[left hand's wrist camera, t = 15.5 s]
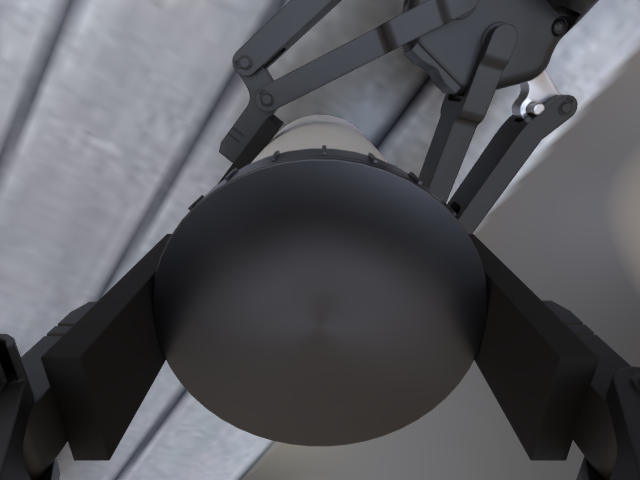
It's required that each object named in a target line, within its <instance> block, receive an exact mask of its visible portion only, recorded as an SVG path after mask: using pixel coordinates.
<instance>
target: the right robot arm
mask: <svg viewBox="0 0 640 480" xmlns="http://www.w3.org/2000/svg"><path fill="white" fill-rule="evenodd" d="M340 1H341V0H290V1H289V2H288V3H287V4H286V5H285V6H284V7H283V8H282V9H281V10H280V11H279V12H278V13H277V14H276V15H275V16H274V17H273V18H271V19H270V20H269V21H268V22H267V23H266V24H265V25H264V26H263V27H262V28H261V29H260V30H259V31H258V32H257V33H256V34H255V35H254V36H253V37H252V38H251V39H249V40H248V41H247V42H246V43H245V44H244V45H243V46H242V47H241V48H240V49H239V50H238V51H237V52H236V53H235V55H234V57H233V67H234V69H235V71H236V72H237V73H238V74H240V76H241V78H242V79H243V81H244V83H245V84H246V86H247V88H248V90H249V93H250V101H249V104H248V106H247V107H246V109H245V110H244V112H243V113H242V114H241V116H240V117H239V119H238V120H237V121H236V123H235V124H234V125H233V127H232V128H231V130H230V131H229V132H228V134H227V135H226V137H225V138H224V139H223V141H222V142H221V146H220V150H219V152H220V153H221V154H222V155H223V156H225V157H226V158H227V159H229V160H230V161H231V162H232V163H233V164H232V166H231V167H230V168H229V170H228V171H227V172H226V174H225V175H224V176H223V178H222V179H221V180H220V182H219V183H221V182H222V181H223V180H224V179H225V177H226V176H227V175H228V174H229V173H230V172H231V171H232V170H233V169H235V168H237V169H238V170H240V169H241V168H243V167H245V166H246V165H249V164H251V163H252V161H253V160H254V159H255V158H256V157H257V156H258V155H259V154H260V152H261V151H262V150H263V149H264V148H265V147H266V146H267V144H268V143H269V142H270V140H271V139H272V138H273V136H274V135H275V134H276V133H277V131H278V130H279V129H280V127H281V126H282V125H283V122H282V121H281V120H280V119H278V118H277V117H276V116H275V115H274V113H275V112H276V110H277V109H278V108H279V107H281V106H283V105H285V104H287V103H289V102H291V101H293V100H295V99H297V98H299V97H301V96H303V95H305V94H307V93H309V92H311V91H313V90H315V89H317V88H319V87H321V86H323V85H325V84H327V83H329V82H331V81H333V80H335V79H337V78H339V77H341V76H343V75H345V74H347V73H349V72H351V71H353V70H355V69H357V68H359V67H361V66H363V65H364V64H366V63H368V62H370V61H372V60H374V59H376V58H378V57H380V56H382V55H384V54H386V53H388V52H390V51H392V50H394V49H396V48H398V47H400V46H403V48H404V50H405V51H404V52H403V53H404V54H405V55H406V56H407V57H408V58H409V59H410V60H411V61H412V62H413V63H414V64H416V65H418V66H420V67H422V68H423V69H425V70H427V72H428V74H429V76H430V77H431V79H432V81H433V83H434V84H435V85H436V86H437V87H438V88H439V89H440V90H441V91H442V92H443V93H446V96H445V99H444V101H443V104H442V107H441V117H440V120H439V123H438V126H437V128H436V131H435V134H434V137H433V139H432V142H431V145H430V148H429V151H428V153H427V156H426V159H425V162H424V164H423V167H422V170H421V173H420V175H419V179H420V180H421V181H422V182H423V183H422V185H423V186H425V187H426V188H427V189H428V190H429V191H431V192H432V193H433V194H434V195H435V196H436V197H437V198H438V199H439V200H440V201H444V202H445V203H446V202H447V199H448V197H449V194H450V192H451V189H452V187H453V184H454V182H455V179H456V177H457V174H458V172H459V169H460V167H461V164H462V162H463V159H464V157H465V154H466V152H467V149H468V147H469V144H470V142H471V139H472V137H473V134H474V132H475V129H476V127H477V125H478V124H479V123H480V122H482V120H483V119H484V117H485V115H486V112H487V110H488V107H489V105H490V102H491V100H492V97H493V95H494V92H495V90H497V89H501V88H505V87H509V86H513V85H516V84H520V86H521V92H520V95H519V97H518V98H517V99H516V101H515V102H514V103H513V105H512V113H513V115H512V116H510V117H509V118H508V119H507V120H506V122H505V123H504V124H503V125H502V126H501V127H500V129H499V130H498V131H497V133H496V134H495V136H494V137H493V139H492V140H491V141H490V143H489V144H488V146H487V147H486V149H485V150H484V152H483V153H482V154H481V156H480V157H479V159H478V160H477V162H476V163H475V165H474V166H473V167H472V169H471V170H470V172H469V173H468V175H467V176H466V178H465V179H464V181H463V182H462V183H461V185H460V186H459V188H458V189H457V191H456V192H455V194H454V195H453V196H452V198H451V199H450V201H449V202H448V204H447V205H448V206H449V207H450V208H451V209H452V210H453V211H455V213H456V214H457V215H456V216H455V217H456V218H457V219H458V220H459V222H460V223H461V224H462V226H463V227H464V229H465V230H466V232H467V233H468V234H472V233H473V232H474V231H475V229H476V228H477V227H478V225H479V224H480V223H481V221H482V220H483V219H484V217H485V216H486V214H487V213H488V212H489V210H490V209H491V208H492V206H493V205H494V204H495V202H496V201H497V200H498V198H499V197H500V195H501V194H502V193H503V191H504V190H505V189H506V187H507V186H508V185H509V183H510V182H511V181H512V179H513V178H514V176H515V175H516V174H517V172H518V171H519V170H520V168H521V167H522V166H523V164H524V163H525V162H526V160H527V159H528V157H529V156H530V155H531V153H532V152H533V151H534V149H535V148H536V147H537V145H538V144H539V143H540V141H541V140H542V139H543V138H544V137H546V136H547V135H548V134H550V133H551V132H552V131H554V130H555V129H556V128H558V127H559V126H560V125H561V124H563V123H564V122H565V121H567V120H568V119H569V118H571V117H572V116H573V115H574V114H575V112H576V110H577V100H576V99H575V98H574V97H573V96H570V95H561V94H560V93H559V91H558V89H557V88H556V86H555V85H554V83H553V81H552V80H551V78H550V76H549V75H548V73H547V71H546V70H545V69H546V67H547V65H548V63H549V61H550V58H551V55H552V53H553V51H554V49H555V47H556V45H557V43H558V42H559V41H560V39H561V38H562V37H563V36H564V35H565V34H566V33H567V32H568V31H569V30H570V29H571V28H572V27H573V26H574V25H576V24H577V23H578V22H579V21H580V20H581V18H582V17H583V16H584V15H585V14H586V13H587V12H588V11H589V10H590V9H591V8H592V7H593V6H594V5H595V4H596V3H597V2H598V1H599V0H404V8H403V14H401V15H399V16H397V17H395V18H393V19H391V20H389V21H387V22H386V23H384V24H382V25H380V26H379V27H377V28H375V29H373V30H371V31H369V32H367V33H366V34H364V35H362V36H360V37H358V38H356V39H354V40H352V41H350V42H348V43H346V44H344V45H342V46H340V47H339V48H337V49H335V50H333V51H331V52H329V53H327V54H325V55H323V56H321V57H319V58H317V59H315V60H313V61H312V62H310V63H308V64H306V65H304V66H302V67H300V68H298V69H296V70H294V71H292V72H290V73H288V74H286V75H285V76H283V77H281V78H279V79H277V80H275V81H274V80H273V78H272V76H271V75H270V73H269V71H268V69H267V68H268V67H269V66H271V65H272V64H273V63H274V62H275V61H276V60H277V59H278V58H279V57H280V56H281V55H283V54H284V53H285V52H286V51H287V50H288V49H289V48H290V47H291V46H292V45H293V44H294V43H296V42H297V41H298V40H299V39H300V38H301V37H302V36H303V35H304V34H305V33H306V32H308V31H309V30H310V29H311V28H312V27H313V26H314V25H315V24H316V23H317V22H318V21H320V20H321V19H322V18H323V17H324V16H325V15H326V14H327V13H328V12H329V11H330V10H332V9H333V8H334V7H335V6H336V5H337V4H338V3H339V2H340ZM219 183H218V184H219ZM218 184H217V185H218Z"/></svg>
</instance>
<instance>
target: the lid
mask: <svg viewBox="0 0 640 480" xmlns="http://www.w3.org/2000/svg"><path fill="white" fill-rule="evenodd" d="M422 183H423V182H422V181H421V180H420V179H419V178H418V177H416V176H415V175H414V174H413V173H412V172H410V173H409V174H407V173H406V172H404V171H402V170H401V169H399V168H398V167H396V166H394V165H391V164H389V163H387V162H385V161H382V160H380V159H378V158H376V157H375V156H374V155H373V154H372V153H369V154H368V155H365V154H361V153H358V152H353V151H346V150H339V149H327V148H326V145H322V149H321V148H310V149H302V150H294V151H287V152H283V153H280V152H279V150H278V151H275V153H274V154H273V155H272V156H268V157H265V158H263V159H261V160H258V161H256V162H253V163H251V164H249V165H246V166H245V167H243V168H241V169H240V170H238V169H237V168H235V169H233V170H232V171H231V172H230V173H229V174H228V175H227V176H226V177H225V179H224V180H223V181H222V182H221V183H219V184H218V185H217V186H216V187H214V188H213V189H212V190H211V191H210V192H209V193H208V194H207V195H206V196H205V197H204V196H203V195H202V196H201V197H200V198H199V199H197V200H196V201H195V202H194V203H193V204H192V205H191V206H190V207H189V208H188V209H189V210H190V212H189V213H188V214H187V215H186V216H185V217H184V218H183V219H182V221H181V222H180V224H179V225H178V227H177V228H176V229H175V231H174V232H173V234H172V235H171V237H170V238H169V240H168V242H167V243H166V245H165V246H166V247H165V249H164V251H163V253H162V255H161V257H160V261H159V264H158V267H157V271H156V274H155V280H154V287H153V295H152V299H153V318H154V323H155V329H156V334H157V337H158V340H159V343H160V346H161V349H162V352H163V354H164V356H165V358H166V360H167V362H168V364H169V366H170V368H171V369H172V371H173V372H174V374H175V375H176V377H177V378H178V379H179V381H180V382H181V384H182V385H183V386H184V387H185V388H186V389H187V390H188V391H189V393H190V394H191V395H192V396H193V397H194V398H195V399H196V400H198V401H199V402H200V403H201V404H202V405H203V406H204V407H205V408H207V409H208V410H209V411H211V412H212V413H214V414H215V415H217V416H218V417H219V418H221V419H222V420H224V421H226V422H228V423H230V424H232V425H233V426H235V427H237V428H239V429H241V430H244V431H246V432H249V433H251V434H253V435H256V436H259V437H263V438H266V439H269V440H272V441H277V442H282V443H287V444H293V445H303V446H337V445H347V444H353V443H358V442H363V441H368V440H371V439H374V438H378V437H381V436H384V435H387V434H389V433H392V432H394V431H397V430H399V429H401V428H403V427H405V426H407V425H409V424H411V423H413V422H415V421H416V420H418V419H419V418H421V417H422V416H424V415H425V414H427V413H428V412H430V411H431V410H433V409H434V408H435V407H436V406H437V405H438V404H439V403H441V402H442V401H443V400H444V399H445V398H446V397H447V396H448V395H449V394H450V393H451V392H452V391H453V390H454V389H455V388H456V386H457V385H458V384H459V383H460V381H461V380H462V378H463V377H464V376H465V374H466V373H467V371H468V370H469V368H470V366H471V364H472V363H473V361H474V359H475V357H476V355H477V353H478V350H479V347H480V344H481V342H482V339H483V336H484V330H485V325H486V320H487V311H488V293H487V284H486V277H485V273H484V270H483V266H482V262H481V259H480V257H479V255H478V251H477V249H476V248H475V246H474V243H473V241H472V240H471V238H470V236H469V235H468V233H467V232H466V230H465V229H464V227H463V226H462V224H461V223H460V222H459V220H458V219H457V218H456V217H455V216H456V215H457V214H456V213H455V211H453V210H452V209H451V208H450V207H449V206H448V205H447V204H446V203H445V202H444V201H440V200H439V199H438V198H437V197H436V196H435V195H434V194H433V193H432V192H431V191H429V190H428V189H427V188H426V187H425V186H423V185H422Z"/></svg>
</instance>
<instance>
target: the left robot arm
mask: <svg viewBox="0 0 640 480" xmlns="http://www.w3.org/2000/svg"><path fill="white" fill-rule="evenodd" d="M171 235H172V234H167V235H166V236H165V237H164V238H163V239H162V240H161V241H159V242H158V243H157V244H156V245H155V246H154V247H153V248H152V249H151V250H150V251H149V252H148V253H147V254H146V255H145V256H144V257H143V258H142V259H141V260H140V261H139V262H138V263H137V264H136V265H135V266H134V267H133V268H132V269H131V270H130V271H129V272H128V273H127V274H126V275H125V276H124V277H123V278H122V279H121V280H119V281H118V282H117V283H116V284H115V285H114V286H113V287H112V288H111V289H110V290H109V291H108V292H107V293H106V294H105V295H104V296H103V297H102V298H101V299H100V300H99V301H98V302H88V303H87V304H85V305H83V306H81V307H79V308H78V309H76V310H74V311H72V312H70V313H69V314H68V315H67V316H66V317H65V318H64V319H63V320H62V321H61V322H60V323H58V326H55V327H54V328H53V329H52V330H51V331H50V332H49V333H47V336H44V337H43V338H42V339H41V340H40V341H39V342H38V343H36V344H35V345H34V346H33V347H32V348H31V349H30V350H29V351H28V352H27V353H26V354H24V355H23V356H22V357H20V354H19V352H18V349H17V346H16V343H15V340H14V338H13V337H11V336H9V335H7V334H0V480H59V477H60V471H59V465H58V462H57V459H56V457H57V455H58V454H59V452H60V451H61V450H62V448H63V447H64V445H65V444H66V443H67V441H68V443H69V446H70V449H71V452H72V455H73V458H74V460H110V458H111V457H112V455H113V453H114V451H115V449H116V448H117V446H118V444H119V442H120V441H121V439H122V437H123V435H124V433H125V432H126V430H127V428H128V426H129V425H130V423H131V421H132V419H133V417H134V416H135V414H136V412H137V410H138V408H139V407H140V405H141V403H142V401H143V400H144V398H145V396H146V394H147V392H148V391H149V389H150V387H151V385H152V384H153V382H154V380H155V378H156V376H157V375H158V373H159V371H160V369H161V367H162V366H163V364H164V362H165V360H166V358H165V356H164V354H163V352H162V349H161V346H160V343H159V340H158V337H157V334H156V329H155V323H154V318H153V299H152V295H153V287H154V280H155V274H156V271H157V267H158V264H159V261H160V257H161V255H162V253H163V251H164V249H165V247H166V246H165V245H166V243H167V242H168V240H169V238H170V237H171ZM468 235H469V236H470V238H471V240H472V241H473V243H474V246H475V248H476V249H477V251H478V255H479V257H480V259H481V262H482V266H483V270H484V273H485V277H486V284H487V293H488V311H487V320H486V325H485V330H484V336H483V339H482V342H481V344H480V347H479V350H478V353H477V355H476V357H475V359H474V360H475V362H476V363H477V365H478V367H479V369H480V371H481V372H482V374H483V376H484V378H485V379H486V381H487V383H488V385H489V387H490V388H491V390H492V392H493V394H494V396H495V397H496V399H497V401H498V403H499V404H500V406H501V408H502V410H503V412H504V413H505V415H506V417H507V419H508V420H509V422H510V424H511V426H512V428H513V429H514V431H515V433H516V435H517V437H518V438H519V440H520V442H521V444H522V445H523V447H524V449H525V451H526V453H527V454H528V456H529V458H530V460H566V459H567V455H568V452H569V449H570V446H571V443H572V440H574V442H575V443H576V444H577V446H578V447H579V449H580V450H581V451H582V453H583V454H584V459H583V462H582V465H581V468H580V471H579V474H578V476H577V479H576V480H640V368H639V367H631V366H630V365H629V364H628V363H627V362H626V361H625V360H624V359H622V358H621V357H620V356H619V355H618V354H617V353H616V352H615V351H614V350H612V349H611V348H610V347H609V346H608V345H607V344H606V343H605V342H604V341H603V340H601V339H600V338H599V337H598V336H597V335H594V333H593V331H592V330H590V329H589V328H588V327H587V326H586V325H583V322H582V321H580V320H579V319H578V318H577V317H576V316H575V315H574V314H573V313H572V312H571V311H569V310H567V309H565V308H564V307H562V306H560V305H558V304H556V303H554V302H553V301H541V300H540V299H539V298H538V297H537V296H536V295H535V294H534V293H533V292H532V291H531V290H530V289H529V288H528V287H527V286H526V285H525V284H524V283H523V282H522V281H521V280H520V279H519V278H518V277H517V276H516V275H515V274H514V273H512V271H511V270H509V269H508V268H507V267H506V266H505V265H504V264H503V263H502V262H501V261H500V260H499V259H498V258H497V257H496V256H495V255H494V254H493V253H492V252H491V251H490V250H489V249H488V248H487V247H486V246H485V245H484V244H483V243H482V242H481V241H480V240H479V239H478V238H477V237H476V236H475V235H474V234H468Z"/></svg>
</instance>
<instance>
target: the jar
mask: <svg viewBox="0 0 640 480" xmlns="http://www.w3.org/2000/svg"><path fill="white" fill-rule="evenodd" d="M322 145H326V148H327V149H339V150H346V151H353V152H358V153H361V154H365V155H368V154H369V153H372V154H373V155H374V156H375V157H376V158H378V159H380V160H382V161H385V162H387V163H389V162H388V161H387V160H386V159H385V158H384V157H383V156H382V154H381V153H380V152H379V151H378V150H377V149H376V148H375V147H374V145H373V144H372V143H371V142H370V141H369V140H368V139H367V138H366V136H365V135H364V134H363V133H362V132H361V131H360V130H359V129H358V128H356V127H355V126H354V125H353V124H351V123H349V122H348V121H346V120H343V119H341V118H338V117H335V116H331V115H310V116H305V117H302V118H299V119H297V120H294V121H292V122H291V123H289V124H288V125H286V126H285V127H284V128H282V129H281V130H280V131H279V132H278V133H277V134H276V135H275V136H274V138H273V139H272V140H271V141H270V142H269V143H268V144H267V146H266V147H265V148H264V149H263V150H262V151H261V152H260V154H259V155H258V156H257V157H256V158H255V159H254V160H253V161H252V163H253V162H256V161H258V160H261V159H263V158H265V157H268V156H272V155H273V154H274V153H275V151H278V150H279V152H280V153H283V152H287V151H294V150H302V149H310V148H321V149H322Z"/></svg>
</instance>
